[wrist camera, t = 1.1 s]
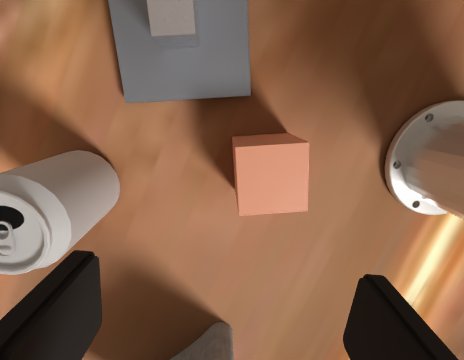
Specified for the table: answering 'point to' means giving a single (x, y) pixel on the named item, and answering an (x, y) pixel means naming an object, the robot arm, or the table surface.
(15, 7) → the table surface
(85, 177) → the can
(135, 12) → the post base
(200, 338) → the hip flask
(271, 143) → the salmon pink cube
